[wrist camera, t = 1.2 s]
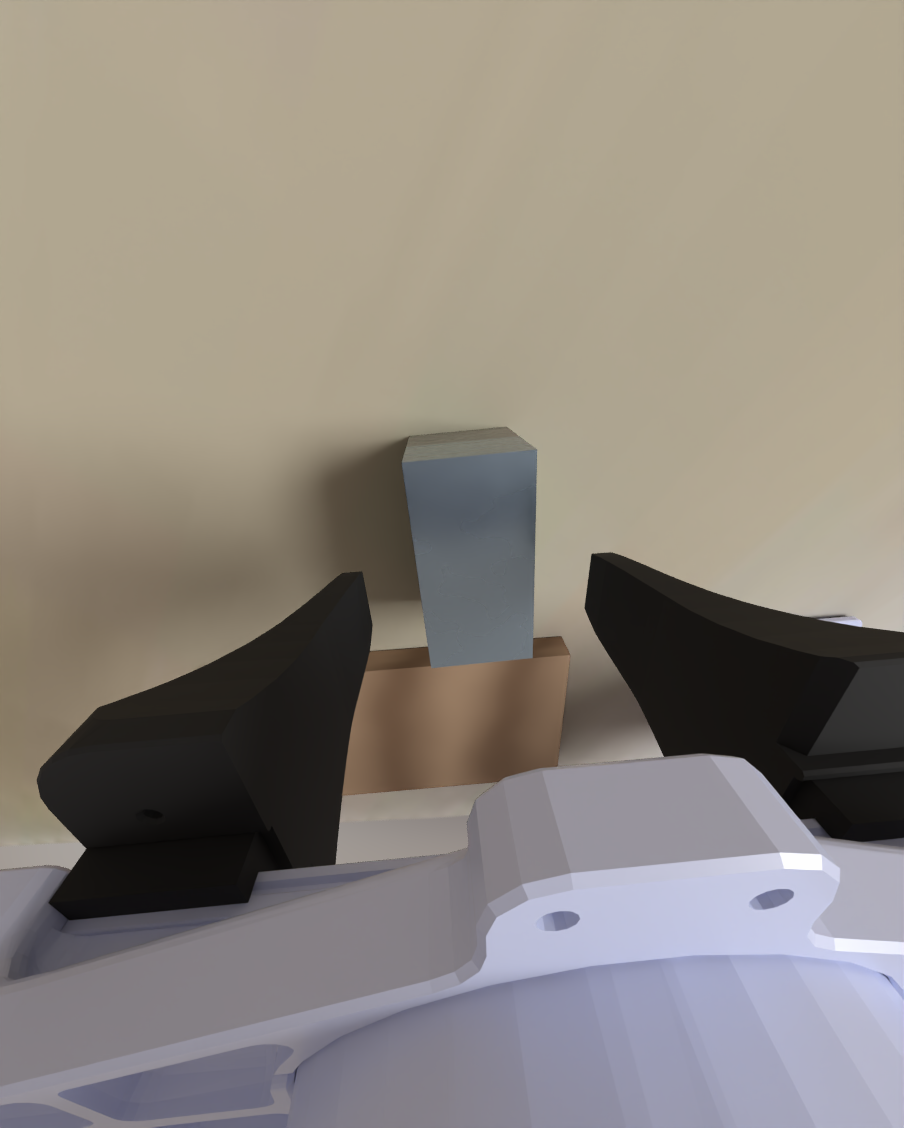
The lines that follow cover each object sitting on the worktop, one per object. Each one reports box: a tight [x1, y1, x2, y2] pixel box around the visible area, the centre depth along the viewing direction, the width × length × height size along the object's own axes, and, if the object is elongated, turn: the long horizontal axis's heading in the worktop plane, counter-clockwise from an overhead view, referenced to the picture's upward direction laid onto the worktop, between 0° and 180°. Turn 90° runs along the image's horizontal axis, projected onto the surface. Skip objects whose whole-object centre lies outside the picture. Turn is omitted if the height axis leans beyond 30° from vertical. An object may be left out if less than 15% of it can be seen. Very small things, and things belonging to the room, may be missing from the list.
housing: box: [402, 427, 537, 668], centre depth 15 cm, size 4×8×5 cm, turn 5°
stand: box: [342, 637, 570, 796], centre depth 22 cm, size 18×10×2 cm, turn 93°
